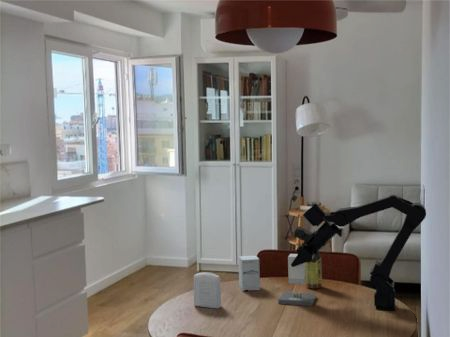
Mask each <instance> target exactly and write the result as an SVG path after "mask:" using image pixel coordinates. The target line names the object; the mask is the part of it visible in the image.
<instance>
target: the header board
mask: <svg viewBox="0 0 450 337" xmlns="http://www.w3.org/2000/svg"><path fill="white" fill-rule="evenodd" d="M316 299H317V293H311V292H298V291H297V292H296V291H284V292H283V293H282V294H281V295H280V297H279V298H278V304H280V305H293V306H306V307H312V306H313V304H314V303H315V301H316Z"/></svg>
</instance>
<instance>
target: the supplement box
mask: <svg viewBox="0 0 450 337" xmlns="http://www.w3.org/2000/svg"><path fill="white" fill-rule="evenodd" d="M260 280H261V278H260V258H259V257H258V256H257V255H239V256H238V282H239V283H238V285H239V288H240V290H241V292H244V291H245V290H248V291H260V290H261V281H260Z"/></svg>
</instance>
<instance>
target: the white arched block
mask: <svg viewBox="0 0 450 337" xmlns="http://www.w3.org/2000/svg"><path fill="white" fill-rule="evenodd" d="M221 283H222V280H221V277H220V275H218V274H215V273H213V272H208V271H207V272H206V271H205V272H203V271H202V272H198V273H196V274H195V273H194V275H193V305H194V306H195V307H202V308H211V309H220V308H221V307H222V292H221V291H222V290H221V289H222V287H221Z"/></svg>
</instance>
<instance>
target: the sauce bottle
mask: <svg viewBox="0 0 450 337" xmlns="http://www.w3.org/2000/svg"><path fill="white" fill-rule="evenodd" d="M313 253H314V252H313ZM305 268H306V282H305V283H306V288H308V289H311V290H312V289H314V290H315V289H321V287H322V286H323V285H322V284H323V279H322V277H323V274H322V271H323V270H322V269H323V268H322V256H321V253H320V250H319V251H318V252H317V253H316V254H315V253H314V258H313V259H312V260H311V261H310V262H309V263H307V262H306V263H305Z"/></svg>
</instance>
